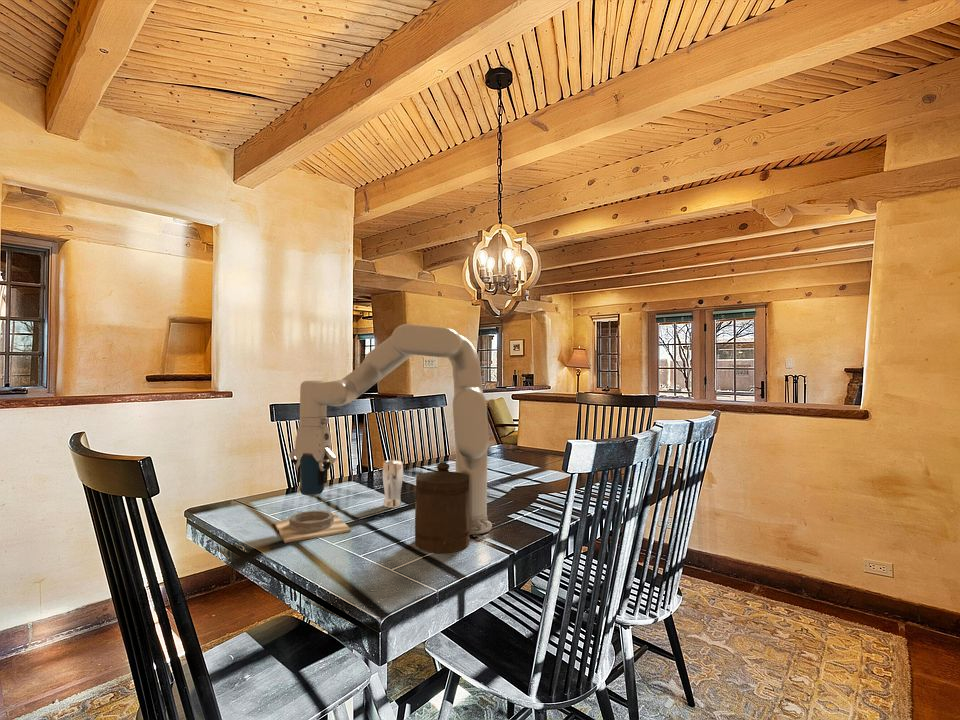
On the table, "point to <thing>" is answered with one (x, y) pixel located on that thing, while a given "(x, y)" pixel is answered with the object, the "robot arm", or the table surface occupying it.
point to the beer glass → (392, 482)
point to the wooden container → (442, 511)
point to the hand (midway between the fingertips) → (312, 482)
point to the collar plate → (309, 535)
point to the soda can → (310, 476)
